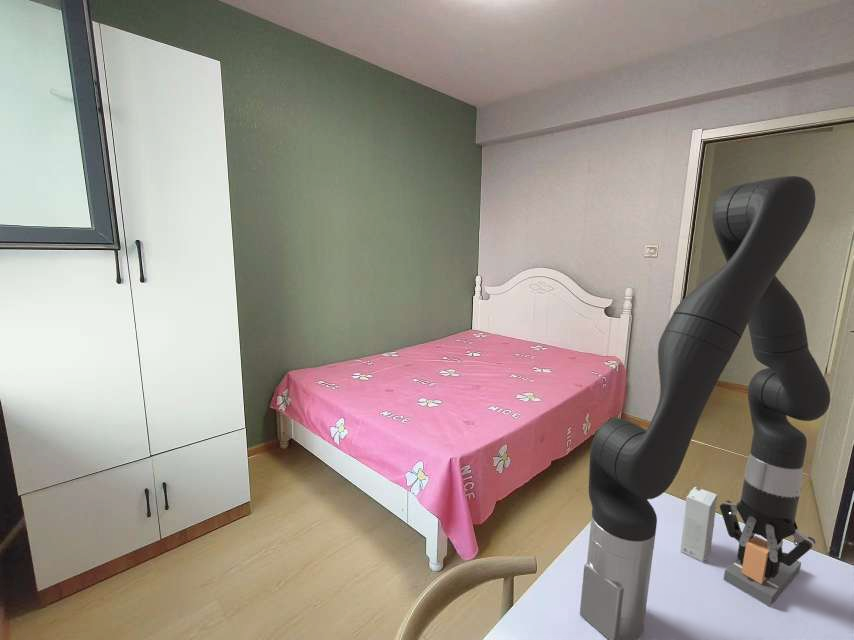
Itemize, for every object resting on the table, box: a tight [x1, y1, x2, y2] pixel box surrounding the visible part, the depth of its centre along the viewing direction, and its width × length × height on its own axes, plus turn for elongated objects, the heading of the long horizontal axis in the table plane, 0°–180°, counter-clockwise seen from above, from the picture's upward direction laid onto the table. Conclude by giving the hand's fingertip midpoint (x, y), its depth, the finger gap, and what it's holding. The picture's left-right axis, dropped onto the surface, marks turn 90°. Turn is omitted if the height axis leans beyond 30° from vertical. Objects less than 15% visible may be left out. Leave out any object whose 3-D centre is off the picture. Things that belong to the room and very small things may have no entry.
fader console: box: [723, 558, 802, 607], centre depth 77 cm, size 15×7×2 cm, turn 123°
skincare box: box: [680, 486, 718, 563], centre depth 83 cm, size 6×4×12 cm
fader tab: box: [741, 535, 769, 584], centre depth 74 cm, size 4×3×6 cm
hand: (756, 569), depth 74 cm, fingers closed on fader tab, 3 cm apart
